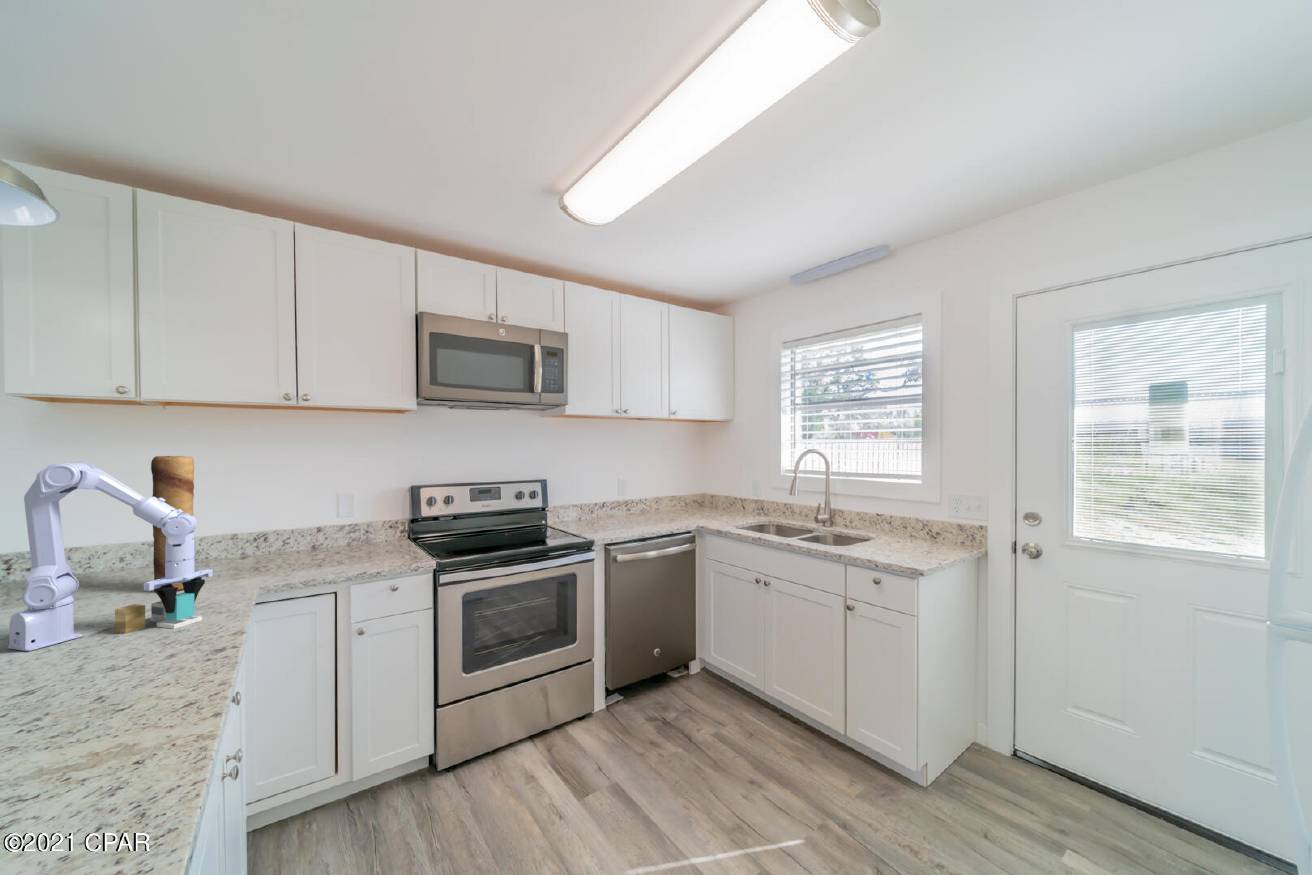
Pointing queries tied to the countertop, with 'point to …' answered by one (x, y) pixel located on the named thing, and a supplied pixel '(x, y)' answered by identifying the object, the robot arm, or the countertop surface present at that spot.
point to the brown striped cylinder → (171, 498)
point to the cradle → (179, 622)
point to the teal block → (182, 607)
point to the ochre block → (129, 618)
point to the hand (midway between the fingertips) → (179, 610)
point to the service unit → (158, 612)
